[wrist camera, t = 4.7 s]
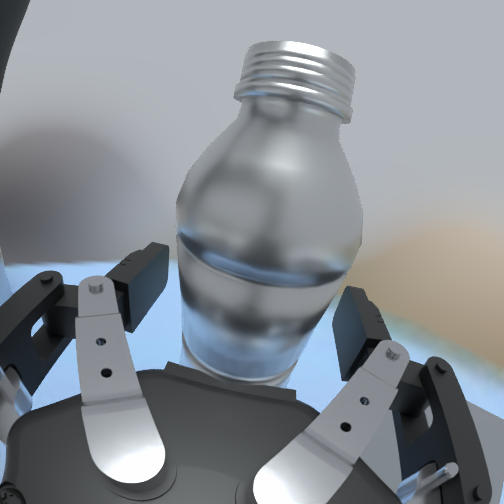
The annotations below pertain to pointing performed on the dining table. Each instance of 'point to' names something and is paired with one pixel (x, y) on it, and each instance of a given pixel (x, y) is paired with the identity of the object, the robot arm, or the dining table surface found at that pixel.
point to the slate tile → (384, 439)
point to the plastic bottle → (268, 218)
